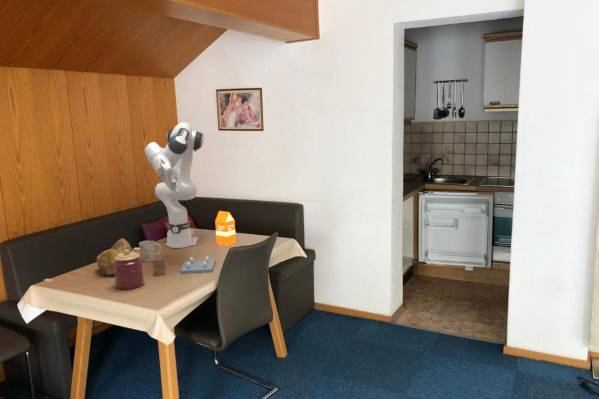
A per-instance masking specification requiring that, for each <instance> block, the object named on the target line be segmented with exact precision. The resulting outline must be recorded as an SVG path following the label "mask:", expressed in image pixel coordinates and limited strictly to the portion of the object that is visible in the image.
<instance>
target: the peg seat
mask: <svg viewBox="0 0 599 399" xmlns="http://www.w3.org/2000/svg"><path fill="white" fill-rule="evenodd" d="M216 263H217V261H216V259H210V258H209V256H208V255H207V256H205V260H204V259H203V260H194V258H193V257H191V256H190V257H189V260H186V261H184V263H183V265H182V266H181V268H180V270H179V274H181V275H183V274H185V275H186V274H200V273H201V274H202V273H203V272H205V273H213V271H214V268H215V265H216ZM203 274H204V273H203Z"/></svg>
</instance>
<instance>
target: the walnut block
mask: <svg viewBox="0 0 599 399" xmlns="http://www.w3.org/2000/svg"><path fill="white" fill-rule="evenodd" d="M164 258H165V257H164V256H162V257H154V259H153V261H152V267H153V270H152V271H153V276H154V277H155V276H157V277H158V276H164V275H165V274H166V268H165V259H164Z"/></svg>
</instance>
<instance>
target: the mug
mask: <svg viewBox="0 0 599 399" xmlns="http://www.w3.org/2000/svg"><path fill="white" fill-rule="evenodd" d="M138 246H139V250H140V254H141V259H142V262H153V259H154V258H155V256H158V255H159V254H161V252H162V245H161V244H160V243H158V242H155V240H143V241H140V242H139V243H138ZM157 246H158V249H159V250H158V252H157V253H155V250H156V249H155V247H157Z"/></svg>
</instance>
